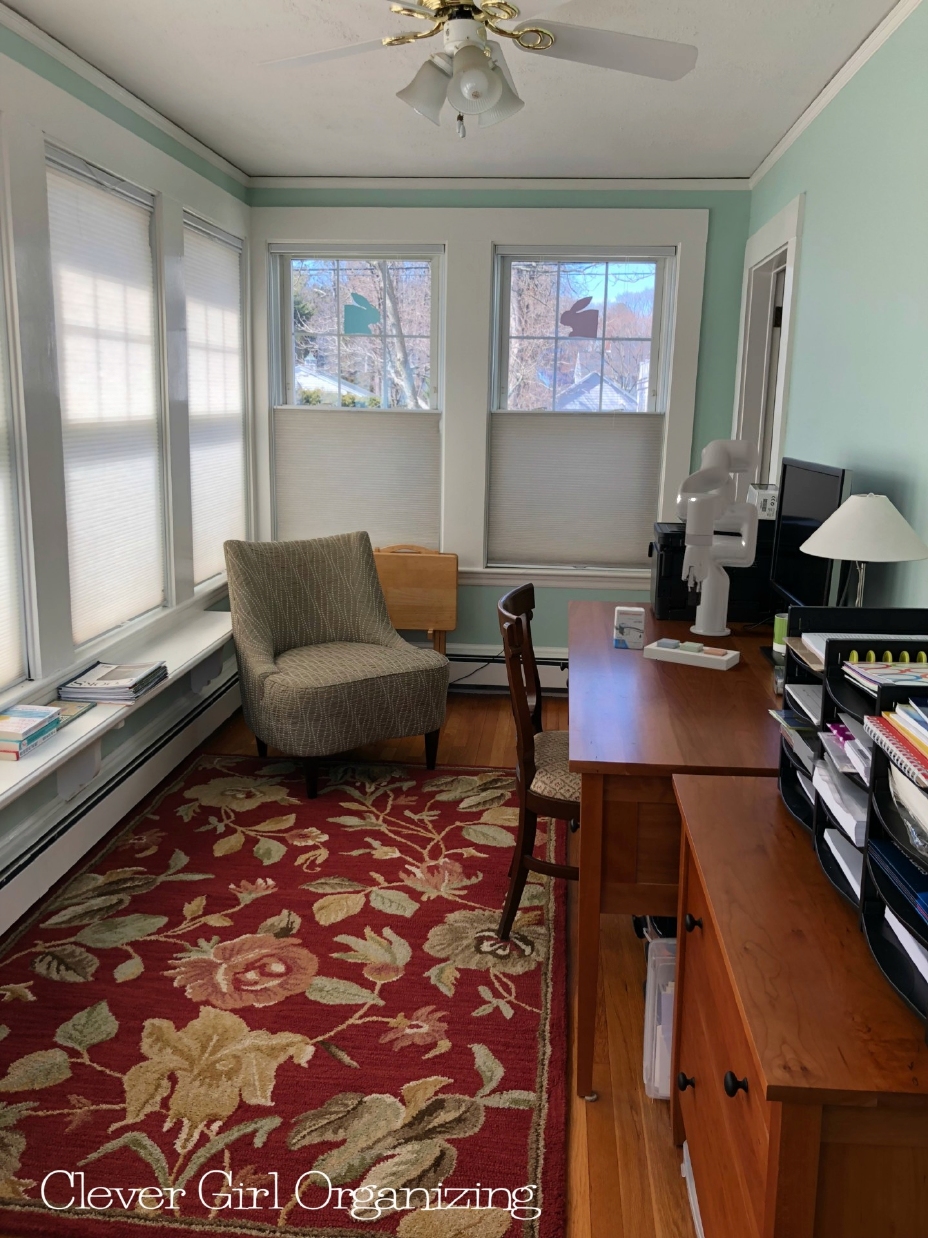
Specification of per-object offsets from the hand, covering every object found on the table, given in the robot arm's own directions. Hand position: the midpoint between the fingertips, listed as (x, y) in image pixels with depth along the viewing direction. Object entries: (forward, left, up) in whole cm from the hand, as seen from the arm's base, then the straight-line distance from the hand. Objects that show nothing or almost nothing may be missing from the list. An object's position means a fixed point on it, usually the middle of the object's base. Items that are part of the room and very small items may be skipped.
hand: (694, 604), depth 274 cm
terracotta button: (0, +7, -15) cm, 17 cm away
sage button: (0, 0, -14) cm, 14 cm away
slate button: (0, -7, -14) cm, 16 cm away
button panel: (0, 0, -16) cm, 16 cm away
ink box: (-4, -21, -16) cm, 27 cm away
